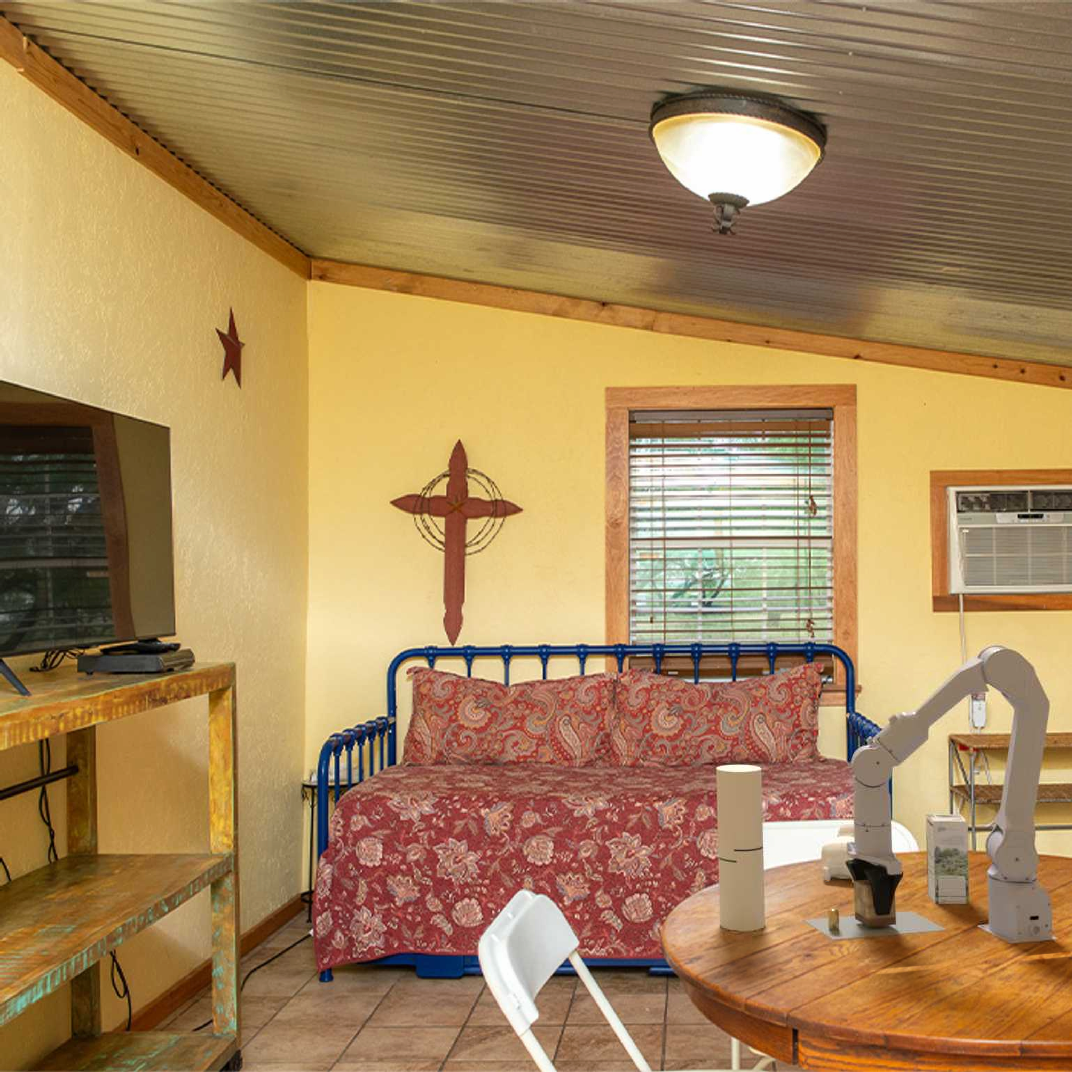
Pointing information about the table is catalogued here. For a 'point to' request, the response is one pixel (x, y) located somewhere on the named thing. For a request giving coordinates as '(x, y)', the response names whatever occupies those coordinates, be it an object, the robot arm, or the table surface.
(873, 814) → the robot arm
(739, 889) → the cylindrical container
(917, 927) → the board
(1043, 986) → the table surface
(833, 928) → the brass pin
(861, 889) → the sleeve
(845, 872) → the white animal figurine
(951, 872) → the syrup box
